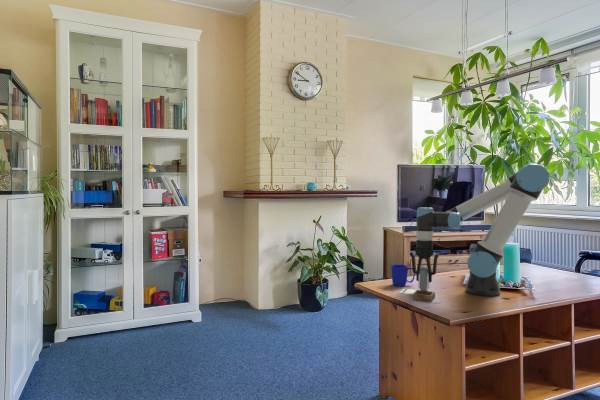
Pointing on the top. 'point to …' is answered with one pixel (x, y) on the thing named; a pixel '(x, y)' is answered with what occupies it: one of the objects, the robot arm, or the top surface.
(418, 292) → the tray
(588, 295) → the top surface
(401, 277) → the mug
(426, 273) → the marker
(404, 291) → the paper
